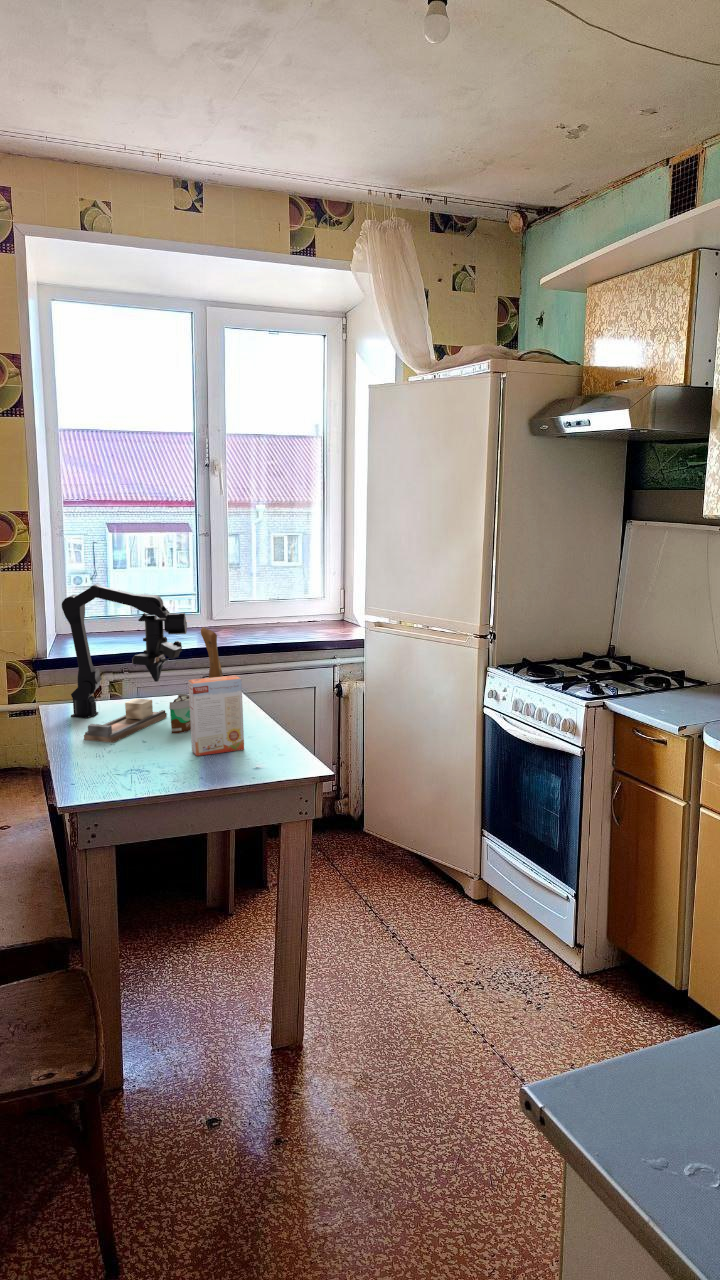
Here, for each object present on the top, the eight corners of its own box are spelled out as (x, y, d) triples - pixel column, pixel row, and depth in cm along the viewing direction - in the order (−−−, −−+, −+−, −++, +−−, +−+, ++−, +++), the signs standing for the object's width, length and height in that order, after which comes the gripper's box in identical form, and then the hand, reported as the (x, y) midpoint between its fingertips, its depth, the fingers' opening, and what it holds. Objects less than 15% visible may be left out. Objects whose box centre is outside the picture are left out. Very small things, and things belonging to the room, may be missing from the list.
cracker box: (238, 745, 249) (236, 674, 246) (244, 750, 244) (242, 678, 240) (190, 751, 244) (187, 678, 240) (195, 756, 238) (192, 683, 235)
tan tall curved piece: (209, 719, 278) (206, 633, 273) (202, 705, 296) (199, 624, 291) (230, 717, 279) (227, 632, 275) (222, 704, 297) (220, 623, 293)
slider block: (125, 718, 272) (125, 702, 271) (136, 713, 278) (135, 698, 277) (142, 719, 270) (141, 704, 269) (152, 714, 276) (152, 699, 275)
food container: (190, 735, 260) (189, 702, 258) (170, 735, 260) (169, 702, 258) (199, 724, 272) (198, 693, 270) (179, 724, 272) (178, 693, 270)
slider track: (84, 739, 255) (83, 725, 254) (139, 715, 283) (139, 701, 283) (113, 742, 252) (112, 727, 251) (166, 717, 280) (166, 703, 279)
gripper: (161, 640, 269) (163, 689, 271) (190, 631, 286) (192, 677, 289) (130, 638, 272) (132, 686, 275) (161, 629, 290) (163, 675, 292)
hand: (156, 681), depth 283 cm, fingers closed
